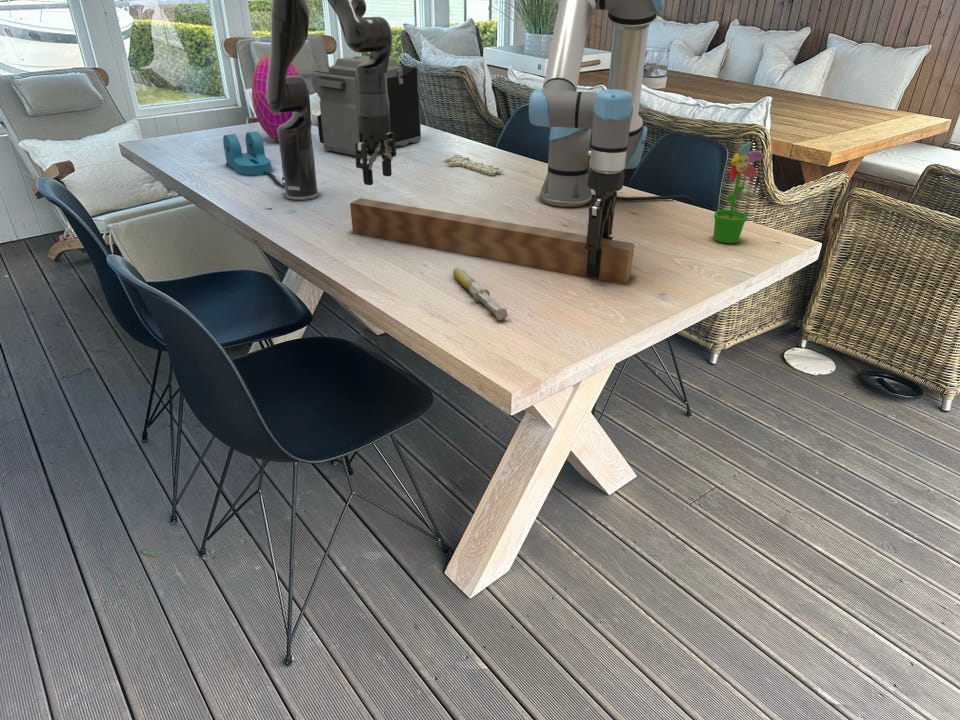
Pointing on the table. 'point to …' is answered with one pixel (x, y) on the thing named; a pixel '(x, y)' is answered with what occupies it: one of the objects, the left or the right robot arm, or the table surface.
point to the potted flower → (731, 220)
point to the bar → (490, 239)
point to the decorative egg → (259, 99)
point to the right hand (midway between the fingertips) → (595, 272)
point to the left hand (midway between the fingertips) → (378, 180)
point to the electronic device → (341, 104)
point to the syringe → (479, 293)
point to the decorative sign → (472, 165)
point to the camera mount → (246, 154)
